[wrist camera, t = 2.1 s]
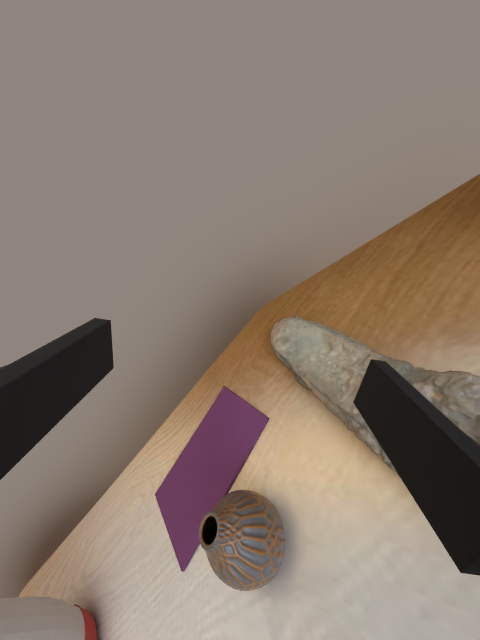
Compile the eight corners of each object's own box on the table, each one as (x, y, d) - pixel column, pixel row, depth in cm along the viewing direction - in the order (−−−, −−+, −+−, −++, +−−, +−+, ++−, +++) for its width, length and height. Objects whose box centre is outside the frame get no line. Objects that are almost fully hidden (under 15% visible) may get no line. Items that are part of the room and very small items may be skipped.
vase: (309, 564, 20) (252, 563, 16) (252, 605, 21) (182, 615, 16) (276, 483, 26) (228, 464, 22) (233, 517, 27) (177, 506, 22)
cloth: (225, 387, 42) (224, 386, 41) (269, 418, 32) (267, 417, 32) (156, 494, 36) (154, 494, 36) (183, 571, 27) (181, 571, 26)
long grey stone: (303, 316, 42) (269, 357, 41) (287, 298, 39) (251, 343, 39) (755, 518, 11) (630, 680, 11) (816, 498, 8) (654, 711, 8)
